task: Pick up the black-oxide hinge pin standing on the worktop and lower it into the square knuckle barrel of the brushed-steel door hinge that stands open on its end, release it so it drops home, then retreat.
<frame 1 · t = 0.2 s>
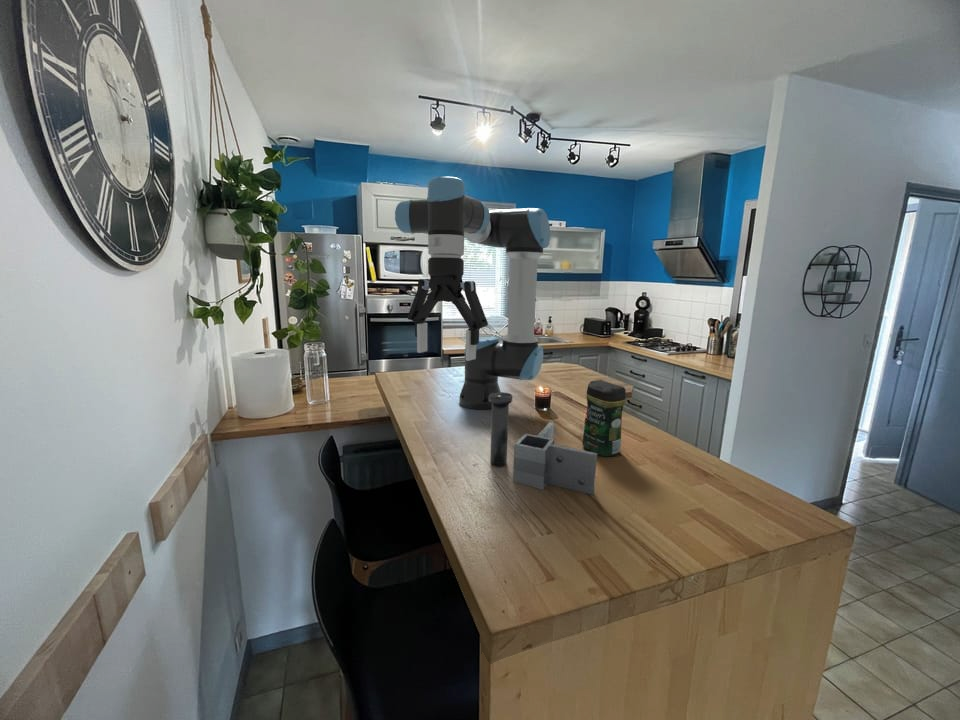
hand: (445, 355, 92), 27 cm above the table, fingers open, 13 cm apart
coffee jar: (600, 450, 110), on the table
pin: (498, 463, 101), on the table
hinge: (532, 478, 94), on the table
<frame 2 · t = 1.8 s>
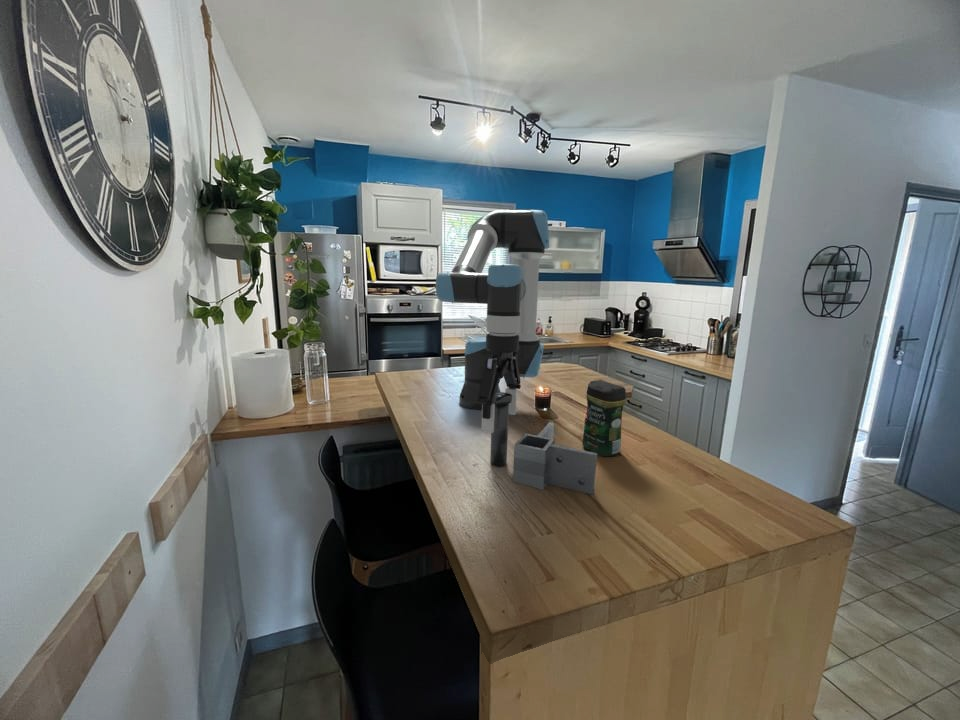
hand: (499, 422, 98), 11 cm above the table, fingers open, 13 cm apart
nothing on the table moved.
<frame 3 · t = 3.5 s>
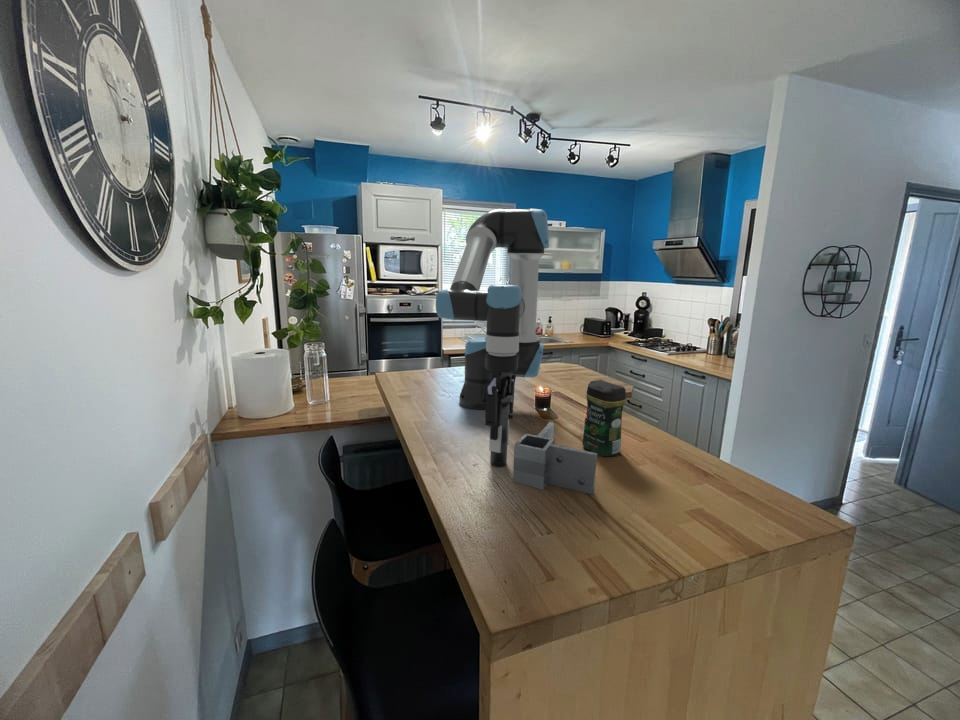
hand: (498, 447, 100), 4 cm above the table, fingers closed on pin, 4 cm apart
pin: (498, 463, 101), on the table, touching gripper
everything else where it was.
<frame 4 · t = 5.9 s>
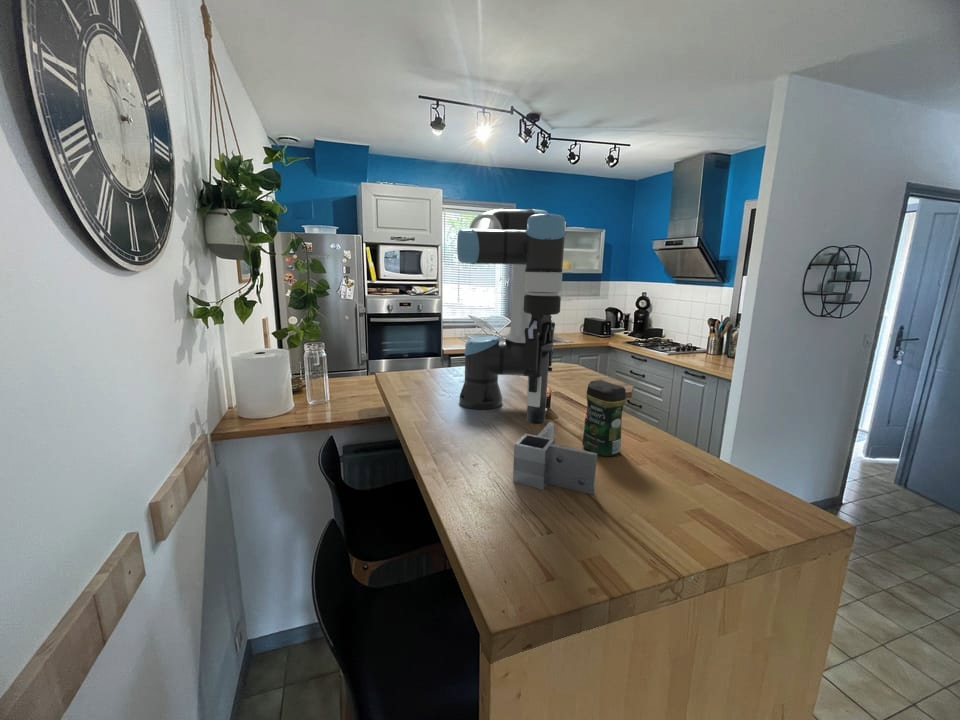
hand: (536, 402, 90), 18 cm above the table, fingers closed on pin, 4 cm apart
pin: (535, 420, 91), point 14 cm above the table, touching gripper
everything else where it was.
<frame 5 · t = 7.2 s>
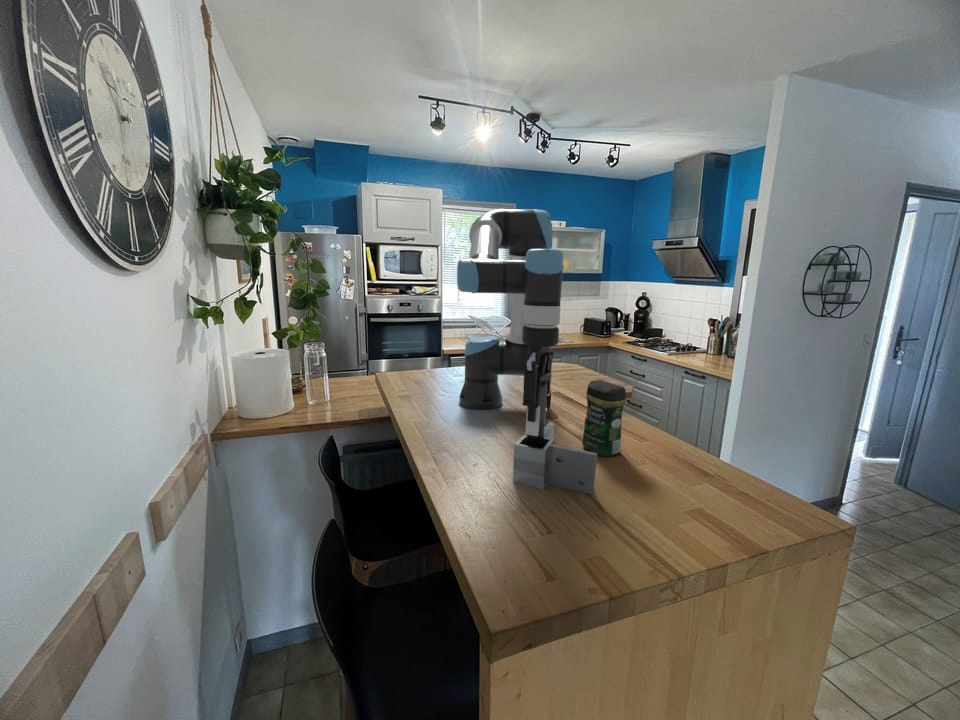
hand: (535, 430, 91), 12 cm above the table, fingers closed on pin, 4 cm apart
pin: (534, 448, 92), point 7 cm above the table, touching gripper
everything else where it was.
when the fingers open (11 cm above the table, at t = 8.3 s): pin drops 7 cm, resting in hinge.
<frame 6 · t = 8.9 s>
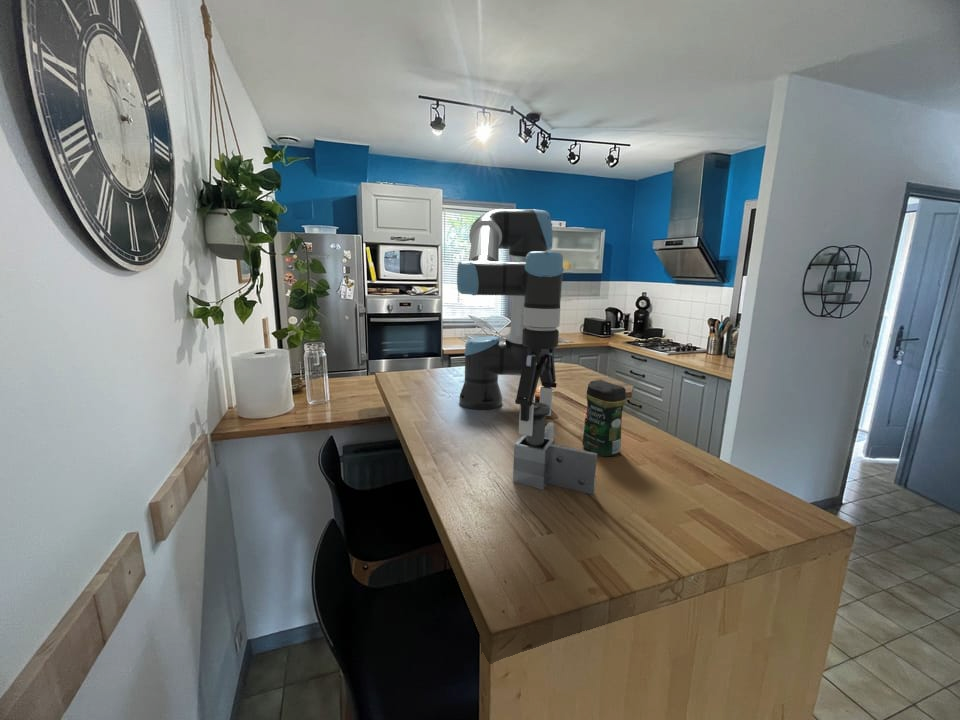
hand: (535, 424, 91), 13 cm above the table, fingers open, 13 cm apart
pin: (532, 479, 94), resting in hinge
everything else where it was.
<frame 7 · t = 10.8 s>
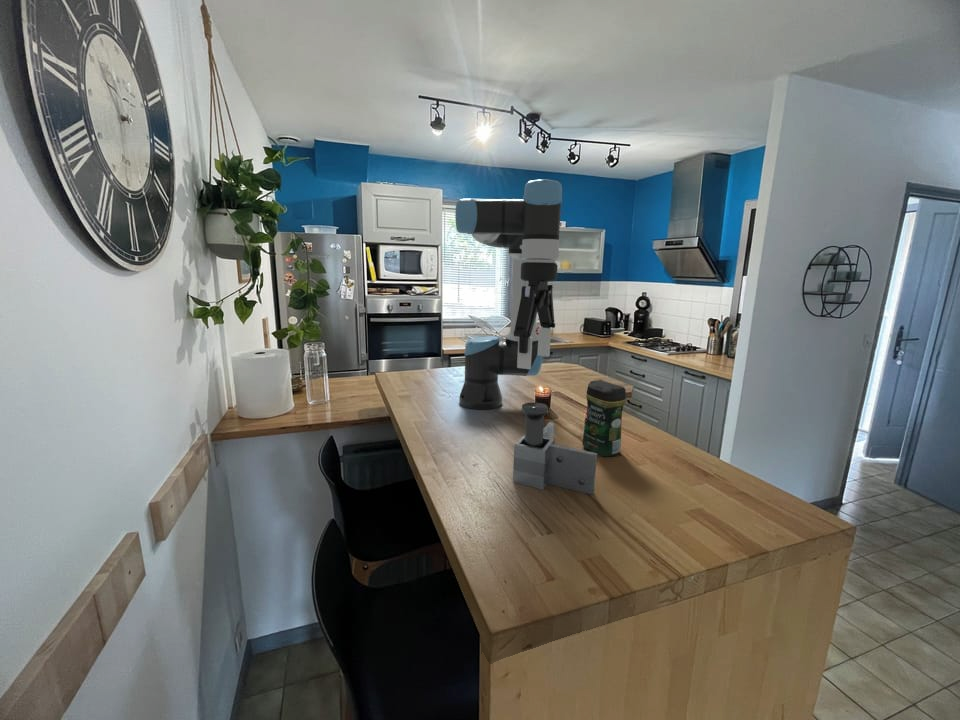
hand: (534, 361, 90), 27 cm above the table, fingers open, 13 cm apart
nothing on the table moved.
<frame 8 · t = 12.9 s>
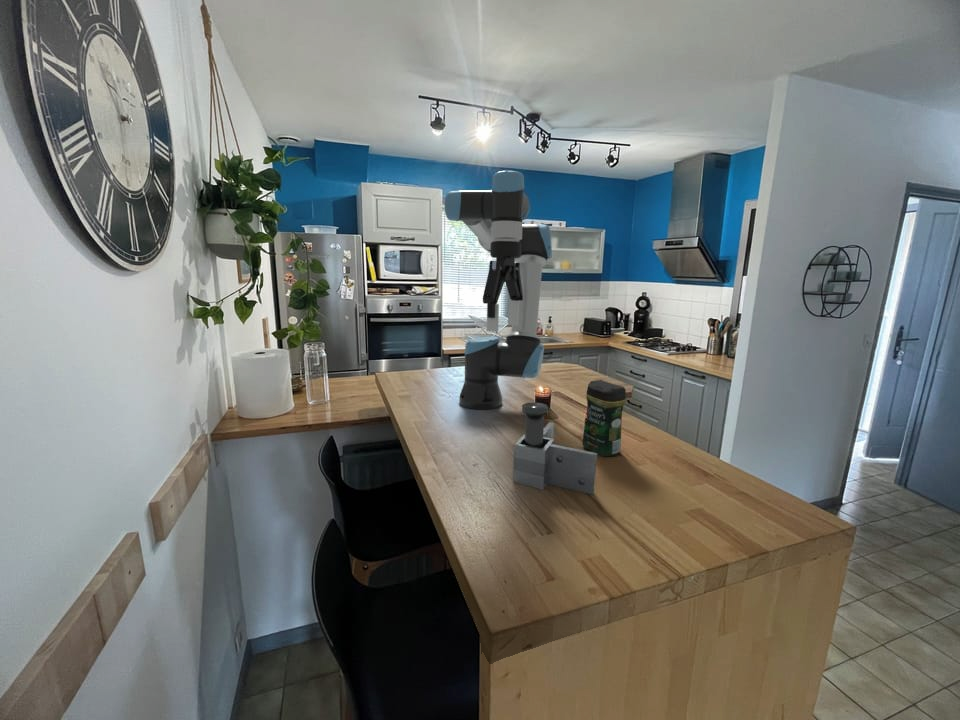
hand: (503, 328, 105), 32 cm above the table, fingers open, 13 cm apart
nothing on the table moved.
at the end: pin 0.1 cm off-centre on the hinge, point 0.0 cm above the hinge's base; pin tilted 1°; the gripper is holding nothing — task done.
